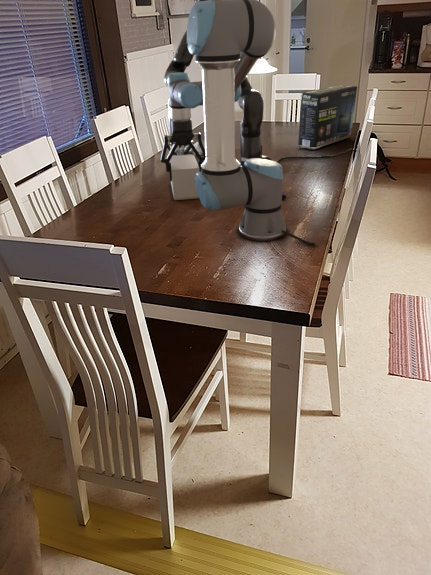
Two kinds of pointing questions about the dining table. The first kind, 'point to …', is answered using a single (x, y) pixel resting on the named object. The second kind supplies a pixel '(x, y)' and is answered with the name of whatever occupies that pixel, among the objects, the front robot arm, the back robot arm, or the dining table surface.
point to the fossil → (197, 147)
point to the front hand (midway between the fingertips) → (185, 178)
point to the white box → (184, 177)
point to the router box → (326, 115)
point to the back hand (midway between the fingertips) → (180, 164)
